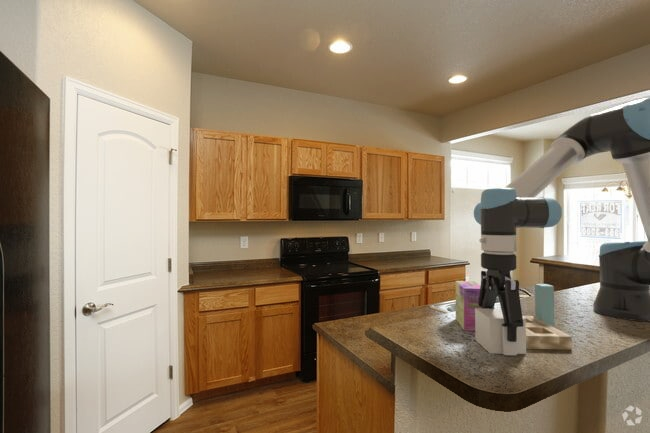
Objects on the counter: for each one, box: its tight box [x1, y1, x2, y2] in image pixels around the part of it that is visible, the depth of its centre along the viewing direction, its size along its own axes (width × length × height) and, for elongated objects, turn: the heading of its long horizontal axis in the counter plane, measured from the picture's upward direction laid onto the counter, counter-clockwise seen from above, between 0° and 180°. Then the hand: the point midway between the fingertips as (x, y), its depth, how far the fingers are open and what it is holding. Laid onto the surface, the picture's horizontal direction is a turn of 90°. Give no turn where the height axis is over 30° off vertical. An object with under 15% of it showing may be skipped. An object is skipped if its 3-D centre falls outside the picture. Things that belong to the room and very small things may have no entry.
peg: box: [534, 283, 555, 328], centre depth 89 cm, size 3×3×12 cm
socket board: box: [522, 315, 573, 350], centre depth 82 cm, size 10×16×3 cm, turn 176°
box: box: [455, 280, 481, 332], centre depth 92 cm, size 10×6×12 cm, turn 169°
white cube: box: [474, 308, 527, 355], centre depth 76 cm, size 8×8×8 cm
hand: (498, 345), depth 76 cm, fingers open, 9 cm apart
